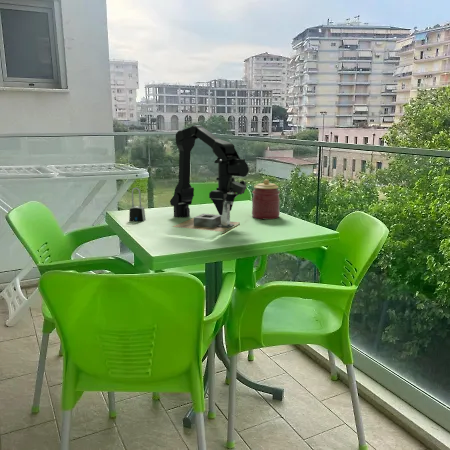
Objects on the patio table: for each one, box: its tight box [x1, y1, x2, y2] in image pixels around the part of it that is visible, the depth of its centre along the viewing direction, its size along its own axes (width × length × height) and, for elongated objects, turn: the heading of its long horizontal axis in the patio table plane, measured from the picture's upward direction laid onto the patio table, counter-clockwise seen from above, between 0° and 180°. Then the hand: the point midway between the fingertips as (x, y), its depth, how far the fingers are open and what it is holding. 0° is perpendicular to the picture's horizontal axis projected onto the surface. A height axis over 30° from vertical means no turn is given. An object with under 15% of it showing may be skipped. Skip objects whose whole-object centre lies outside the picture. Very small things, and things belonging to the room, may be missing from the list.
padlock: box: [128, 187, 147, 222], centre depth 187 cm, size 7×4×15 cm, turn 86°
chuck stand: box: [172, 213, 241, 235], centre depth 175 cm, size 23×18×4 cm
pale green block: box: [221, 201, 234, 226], centre depth 171 cm, size 6×3×10 cm, turn 66°
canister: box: [251, 179, 281, 220], centre depth 193 cm, size 13×13×18 cm
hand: (225, 212), depth 171 cm, fingers open, 9 cm apart
